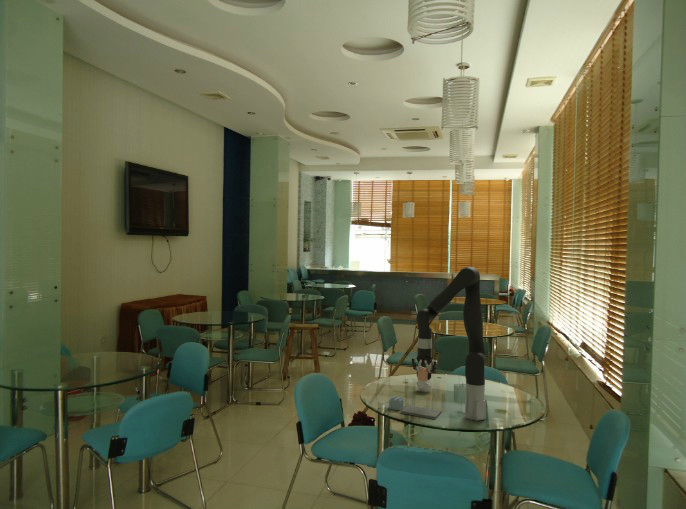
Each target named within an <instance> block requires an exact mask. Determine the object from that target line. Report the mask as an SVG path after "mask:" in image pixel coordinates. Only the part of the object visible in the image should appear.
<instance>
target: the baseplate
mask: <svg viewBox="0 0 686 509" xmlns="http://www.w3.org/2000/svg"><path fill="white" fill-rule="evenodd" d="M442 413H443V412H442V410H439V409H434V408H428V407H423V406H422V407H421V406H415V405H411V404H410V405H409V404H408V405H407V406H405V407H403V408H402V409H401V410H400V414H403V415H410V416H414V417H420V418H426V419H430V420H431V419H432V420H436V419H437V418H438V417H439V416H440V415H441V414H442Z"/></svg>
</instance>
